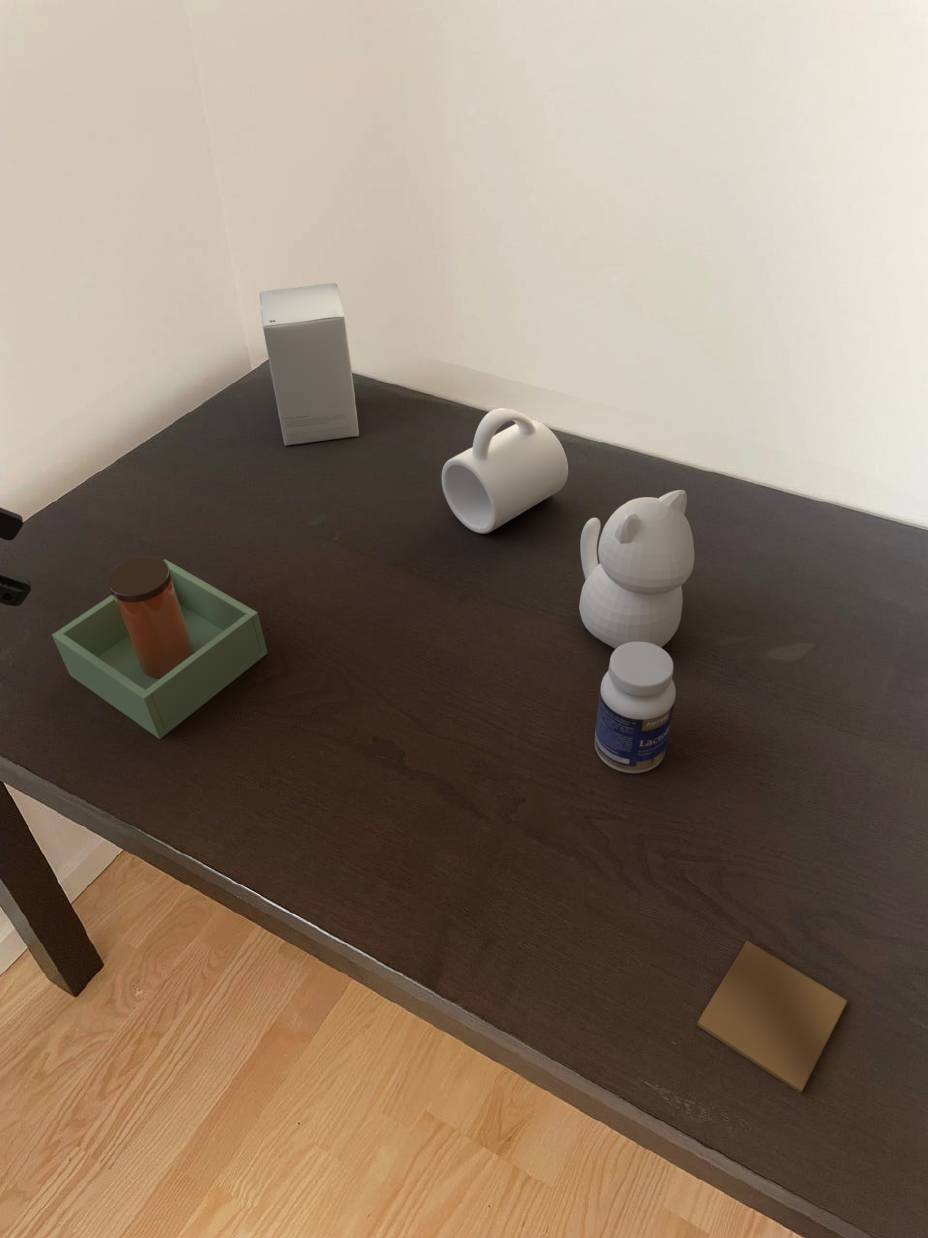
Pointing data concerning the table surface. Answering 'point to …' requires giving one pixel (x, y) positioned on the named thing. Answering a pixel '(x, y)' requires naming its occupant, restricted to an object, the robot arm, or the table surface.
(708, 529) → the table surface
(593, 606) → the cat figurine
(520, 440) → the mug
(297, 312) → the rectangular carton
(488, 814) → the table surface
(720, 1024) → the coaster
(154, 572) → the spice jar
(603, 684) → the pill bottle
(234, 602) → the crate
